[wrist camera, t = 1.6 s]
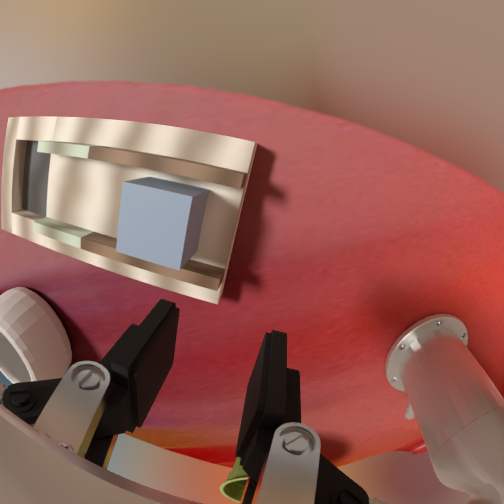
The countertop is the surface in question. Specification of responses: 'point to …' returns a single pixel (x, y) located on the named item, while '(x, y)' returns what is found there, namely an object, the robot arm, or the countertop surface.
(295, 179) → the countertop surface
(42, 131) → the tunnel board
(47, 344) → the mug
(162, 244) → the slate block
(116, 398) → the robot arm
